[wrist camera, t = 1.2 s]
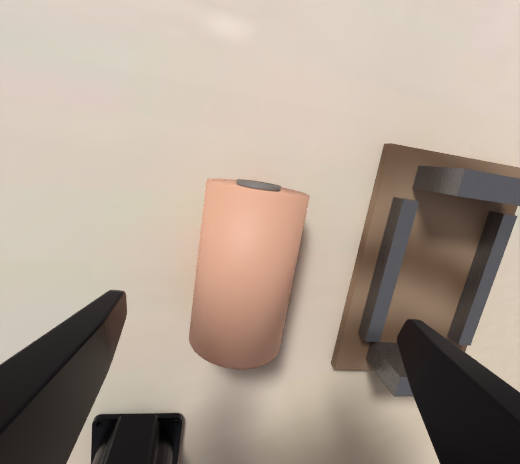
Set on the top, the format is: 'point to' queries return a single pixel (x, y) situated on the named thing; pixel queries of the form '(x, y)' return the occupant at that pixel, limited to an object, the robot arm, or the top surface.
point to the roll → (245, 271)
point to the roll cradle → (425, 255)
